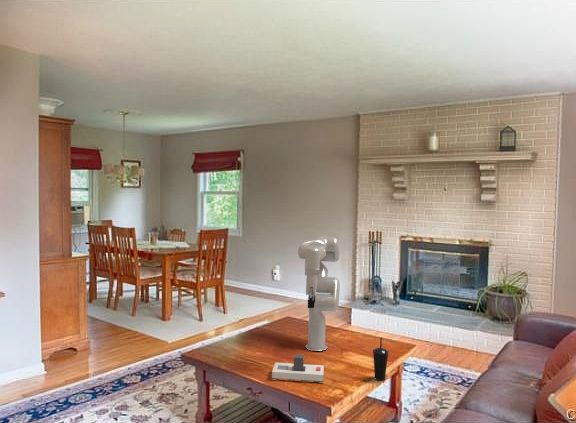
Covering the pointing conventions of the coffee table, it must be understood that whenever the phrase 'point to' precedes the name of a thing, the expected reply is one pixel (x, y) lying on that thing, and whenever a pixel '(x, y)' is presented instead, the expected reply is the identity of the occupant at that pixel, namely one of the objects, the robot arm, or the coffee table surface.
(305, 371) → the power strip
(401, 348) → the coffee table surface
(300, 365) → the plug
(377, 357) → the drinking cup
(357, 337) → the coffee table surface
